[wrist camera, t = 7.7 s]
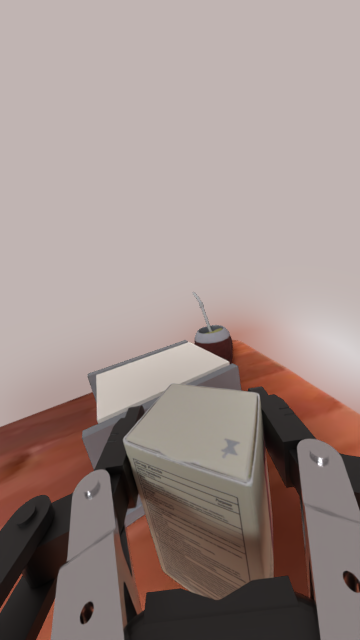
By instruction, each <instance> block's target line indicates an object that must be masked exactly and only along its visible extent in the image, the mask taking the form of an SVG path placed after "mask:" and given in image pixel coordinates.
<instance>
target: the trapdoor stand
mask: <svg viewBox="0 0 360 640" xmlns="http://www.w3.org/2000/svg"><path fill="white" fill-rule="evenodd" d="M185 343H188V341H186V340H184V341H181V342H179V343H175V344H173V345H170V346H167V347H164V348H161V349H159V350H155V351H153V352H150V353H147V354H144V355H141V356H138V357H135V358H132V359H129V360H127V361H124V362H121V363H118V364H115V365H112V366H109V367H107V368H104V369H101V370H98V371H95V372H92V373H89V374H88V379H89V382H90V385H91V388H92V391H93V394H94V397H95V400H96V403H97V387H96V375H98V374H101V373H103V372H106V371H109V370H112V369H115V368H117V367H120V366H123V365H126V364H129V363H132V362H134V361H137V360H140V359H143V358H146V357H148V356H151V355H154V354H157V353H160V352H162V351H165V350H168V349H171V348H174V347H177V346H179V345H182V344H185ZM186 385H195V386H205V387H213V388H222V389H230V390H239V391H241V384H240V377H239V370H238V366H237V365H235V364H233V363H232V364H230V365H228V366H226V367H223V368H221V369H219V370H217V371H214V372H212V373H210V374H208V375H206V376H203V377H201V378H199V379H197V380H194V381H192V382H190V383H188V384H186ZM159 397H160V396H159ZM159 397H157V398H154V399H152V400H150V401H148V402H146V403H143V404H141V405H142V406H143V408H144V412H145V413H146V411H147V410H148V409H149V408H150V407H151V406H152V405H153V403H154V402H155V401H156V400H157V399H158V398H159ZM141 405H139V406H141ZM126 413H127V411H126V412H123V413H121V414H119V415H117V416H114V417H112V418H110V419H108V420H106V421H103V422H101V423H99V424H97V425H94V426H92V427H90V428H88V429H86V430H83V434H82V439H83V442H84V445H85V447H86V450H87V453H88V455H89V458H90V461H91V463H92V466H93V469H95V467H96V465H97V462H98V460H99V458H100V456H101V453H102V451H103V449H104V447H105V444H106V443H107V440H108V438H109V436H110V433H111V431H112V429H113V426H114V425H115V424H116V423H117V422H118V420H119V419H120V418H125V416H126ZM143 515H145V512H144V508H143V505H142V502H141V499H140V495H139V494H138V499H137V505H136V508H131V509H127V513H126V517H125V523H126V527H127V526H129V525H130V524H131V523H133V522H134V521H136V520H137V519H139V518H140V517H142V516H143Z"/></svg>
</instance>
